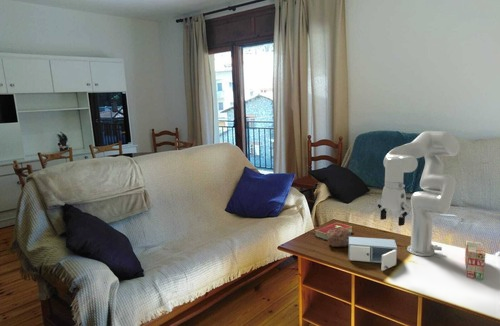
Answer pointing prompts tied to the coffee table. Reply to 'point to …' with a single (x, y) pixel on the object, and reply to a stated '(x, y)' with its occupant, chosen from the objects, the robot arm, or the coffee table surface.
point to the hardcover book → (323, 231)
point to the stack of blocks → (474, 259)
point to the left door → (389, 259)
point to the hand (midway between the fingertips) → (392, 222)
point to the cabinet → (369, 248)
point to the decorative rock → (338, 237)
